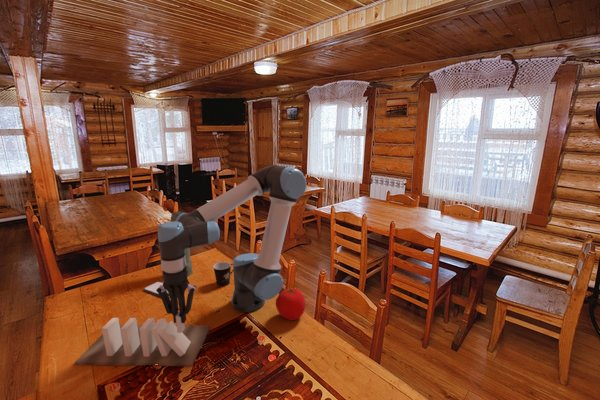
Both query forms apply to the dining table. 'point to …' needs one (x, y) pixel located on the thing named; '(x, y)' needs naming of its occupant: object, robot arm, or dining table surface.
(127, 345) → the domino
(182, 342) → the loose domino
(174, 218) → the thermos
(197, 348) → the walnut board
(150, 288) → the phone case
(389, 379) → the dining table surface
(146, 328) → the domino
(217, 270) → the coffee mug
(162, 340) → the domino
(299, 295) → the tomato
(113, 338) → the domino
